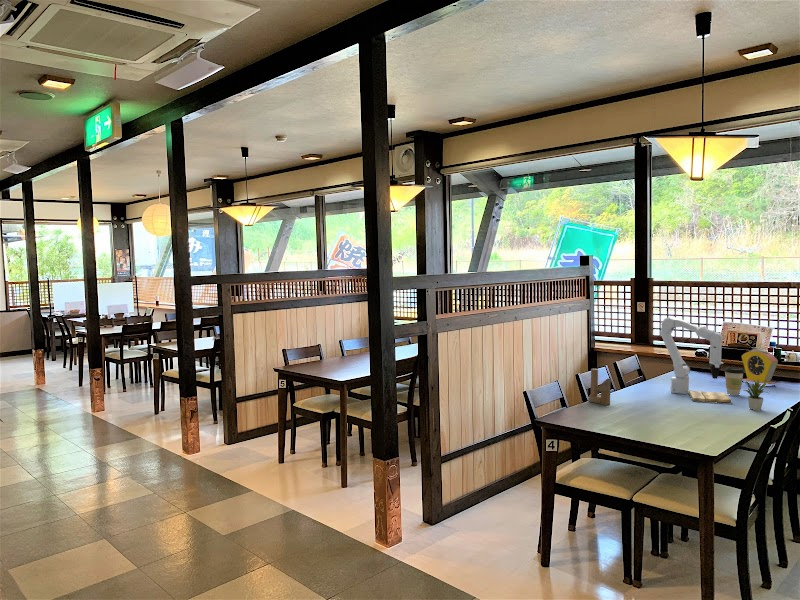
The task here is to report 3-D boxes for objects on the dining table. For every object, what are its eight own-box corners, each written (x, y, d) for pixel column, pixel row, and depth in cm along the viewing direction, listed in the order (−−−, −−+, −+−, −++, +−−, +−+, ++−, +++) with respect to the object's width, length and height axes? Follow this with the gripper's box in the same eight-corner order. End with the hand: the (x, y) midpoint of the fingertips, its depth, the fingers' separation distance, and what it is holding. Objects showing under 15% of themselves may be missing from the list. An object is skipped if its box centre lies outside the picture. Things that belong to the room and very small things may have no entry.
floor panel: (693, 401, 325) (693, 397, 325) (688, 393, 343) (688, 390, 343) (732, 404, 318) (732, 400, 318) (725, 396, 337) (726, 392, 337)
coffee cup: (741, 397, 333) (742, 370, 332) (722, 395, 339) (722, 368, 338) (744, 394, 341) (745, 368, 340) (725, 392, 347) (725, 366, 346)
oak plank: (706, 401, 323) (706, 398, 323) (703, 397, 332) (703, 395, 332) (731, 402, 319) (731, 399, 319) (728, 398, 328) (728, 396, 328)
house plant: (778, 414, 297) (779, 381, 296) (747, 412, 300) (748, 380, 299) (766, 407, 311) (767, 376, 310) (737, 406, 314) (738, 375, 313)
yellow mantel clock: (737, 381, 378) (738, 347, 377) (749, 380, 381) (750, 346, 380) (768, 388, 357) (769, 352, 356) (780, 387, 360) (781, 351, 359)
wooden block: (606, 405, 316) (607, 371, 315) (588, 401, 325) (589, 368, 323) (610, 404, 319) (611, 370, 317) (592, 400, 327) (593, 368, 326)
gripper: (725, 356, 326) (725, 381, 327) (721, 352, 339) (720, 376, 340) (711, 355, 328) (710, 380, 329) (707, 352, 342) (706, 375, 343)
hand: (714, 378), depth 335 cm, fingers closed
